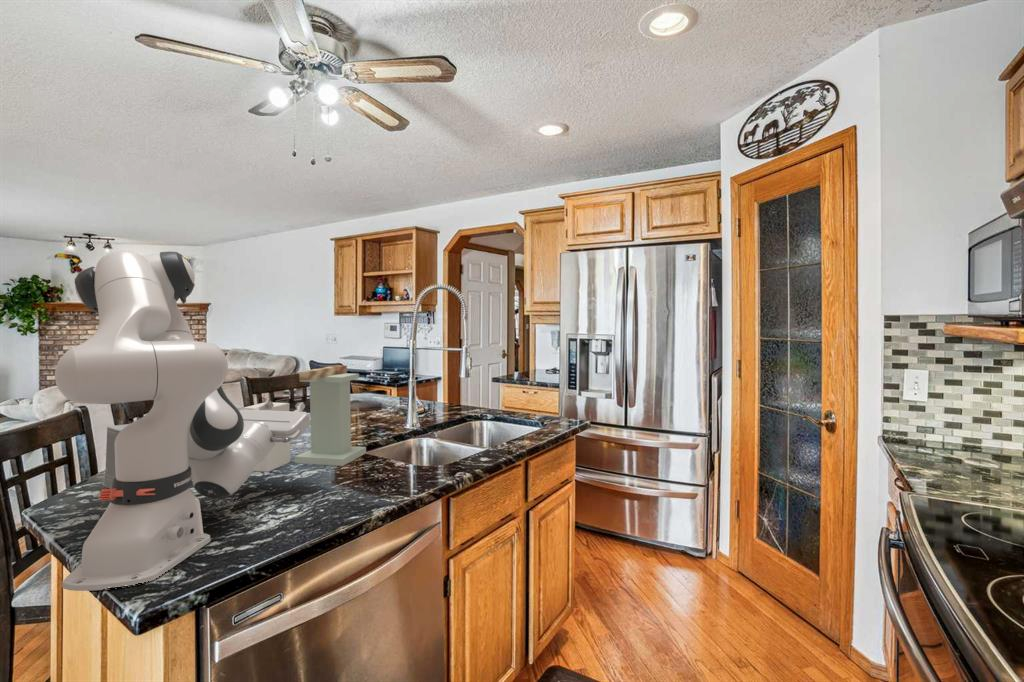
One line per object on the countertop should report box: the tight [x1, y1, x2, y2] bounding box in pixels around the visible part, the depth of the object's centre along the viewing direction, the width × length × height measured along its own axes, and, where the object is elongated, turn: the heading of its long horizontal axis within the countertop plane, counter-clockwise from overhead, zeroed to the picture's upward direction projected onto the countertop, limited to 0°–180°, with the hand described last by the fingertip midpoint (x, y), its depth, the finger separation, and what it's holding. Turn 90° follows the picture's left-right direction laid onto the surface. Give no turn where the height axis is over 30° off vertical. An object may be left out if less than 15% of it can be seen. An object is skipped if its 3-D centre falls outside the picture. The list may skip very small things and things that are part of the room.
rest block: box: [241, 401, 292, 473], centre depth 142 cm, size 10×8×18 cm
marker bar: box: [298, 364, 348, 381], centre depth 146 cm, size 20×4×2 cm, turn 169°
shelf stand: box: [293, 372, 367, 467], centre depth 150 cm, size 14×16×26 cm
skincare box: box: [104, 423, 130, 489], centre depth 125 cm, size 8×7×16 cm
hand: (286, 403), depth 129 cm, fingers open, 8 cm apart
